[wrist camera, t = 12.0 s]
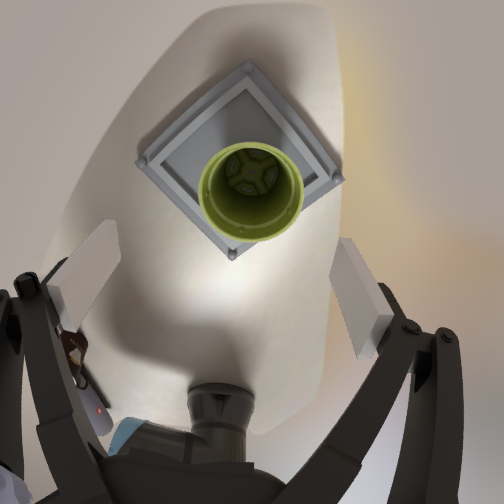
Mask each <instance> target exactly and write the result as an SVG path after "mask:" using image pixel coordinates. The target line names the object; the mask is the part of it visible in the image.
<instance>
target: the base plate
mask: <svg viewBox="0 0 504 504" xmlns="http://www.w3.org/2000/svg"><path fill="white" fill-rule="evenodd" d="M241 142H260V143H265V144H268V145H271V146H273V147H275V148H277V149H279V150H281V151H282V152H284V153H285V154H286V155H287V156H288V157H289V158H290V159H291V160H292V161H293V162H294V163H295V165H296V166H297V168H298V170H299V172H300V174H301V176H302V180H303V184H304V201H303V205H302V209H301V211H302V210H304V209H305V208H307V207H308V206H309V205H311V204H312V203H314V202H315V201H316V200H318V199H319V198H321V197H322V196H323V195H325V194H326V193H328V192H329V191H330V190H332V189H333V188H335V187H336V186H337V185H339V184H341V183H342V182H343V181H344V180H345V178H344V177H343V175H342V174H341V172H340V171H339V169H338V168H337V167H336V165H335V164H334V162H333V161H332V159H331V158H330V157H329V155H328V154H327V152H326V151H325V150H324V148H323V147H322V146H321V144H320V143H319V142H318V140H317V139H316V137H315V136H314V135H313V134H312V132H311V131H310V130H309V128H308V127H307V126H306V124H305V123H304V122H303V121H302V119H301V118H300V117H299V115H298V114H297V113H296V112H295V110H294V109H293V108H292V107H291V106H290V104H289V103H288V102H287V101H286V100H285V98H284V97H283V96H282V95H281V94H280V92H279V91H278V90H277V89H276V88H275V87H274V85H273V84H272V83H271V82H270V81H269V80H268V79H267V77H266V76H265V75H264V74H263V73H262V72H261V71H260V70H259V69H258V67H257V66H256V65H255V64H254V63H253V62H252V61H251V60H250V59H248V60H247V61H246V62H244V63H243V64H242V65H240V66H239V67H238V68H236V69H235V70H234V71H232V72H231V73H230V74H229V75H227V76H226V77H225V78H224V79H222V80H221V81H220V82H219V83H217V84H216V85H215V86H214V87H213V88H211V89H210V90H209V91H208V92H207V93H206V94H204V95H203V96H202V97H201V98H200V99H199V100H197V101H196V102H195V103H194V104H193V105H192V106H191V107H190V108H188V109H187V110H186V111H185V112H184V113H183V114H182V115H181V116H180V117H179V118H178V119H177V120H176V121H175V122H173V123H172V124H171V125H170V126H169V127H168V128H167V129H166V130H165V131H164V132H163V133H162V134H161V135H160V136H159V137H158V138H157V139H156V140H155V141H154V142H153V143H152V144H151V145H150V146H149V147H148V148H147V149H146V151H145V152H144V153H143V154H142V155H141V156H140V157H139V158H138V159H137V160H136V161H135V162H134V163H135V164H136V165H137V167H138V168H140V169H141V170H142V171H143V172H144V173H145V174H146V175H147V176H148V177H149V178H150V179H151V180H152V181H153V182H154V183H155V184H156V186H157V187H158V188H159V189H160V190H161V191H162V192H163V193H164V194H165V195H166V196H167V197H168V198H169V199H170V200H171V201H172V202H173V203H174V204H175V205H176V206H177V207H178V208H179V209H180V210H181V211H182V212H183V213H184V214H185V215H186V216H187V217H188V218H189V219H190V220H191V221H192V222H193V223H194V224H195V225H196V226H197V227H198V228H199V229H200V230H201V231H202V232H203V233H204V234H205V235H206V236H207V237H208V238H209V239H210V240H211V241H212V242H213V243H214V244H215V245H216V246H217V247H218V248H219V249H220V250H221V251H222V252H223V253H224V254H225V255H226V256H227V257H228V259H230V260H231V261H233V260H235V259H236V258H237V257H238V256H240V255H241V254H242V253H244V252H245V251H247V250H248V249H249V248H251V247H252V246H254V245H255V244H256V243H258V242H251V243H250V242H241V241H237V240H233V239H230V238H228V237H226V236H224V235H222V234H221V233H219V232H218V231H217V230H215V229H214V228H213V227H212V226H211V225H210V223H209V222H208V221H207V219H206V218H205V216H204V214H203V212H202V210H201V207H200V204H199V199H198V185H199V180H200V176H201V174H202V171H203V169H204V167H205V166H206V164H207V163H208V161H209V160H210V159H211V158H212V157H213V156H214V155H215V154H216V153H218V152H219V151H221V150H222V149H224V148H226V147H228V146H230V145H233V144H236V143H241ZM252 152H253V153H258V154H261V155H263V152H261V151H256V150H252ZM234 164H235V161H233V162H232V163H231V167H230V171H231V172H232V171H233V167H234ZM250 173H251V174H254V173H255V171H254V170H251V171H250ZM273 178H274V171H272V174H271V177H270V179H269V182H271V181H272V180H273ZM242 189H243V190H244V191H247V192H252V191H253V190H250V189H246V188H244V187H242ZM301 211H300V212H301Z"/></svg>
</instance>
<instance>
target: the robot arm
mask: <svg viewBox="0 0 504 504" xmlns="http://www.w3.org/2000/svg"><path fill="white" fill-rule="evenodd" d="M120 261H121V253H120V246H119V239H118V231H117V223H116V219H105V220H104V221H103V222H102V223H101V224H100V225H99V226H98V227H97V228H96V229H95V230H94V231H93V232H92V233H91V234H90V235H89V236H88V237H87V238H86V239H85V240H84V241H83V242H82V243H81V245H80V246H79V247H78V248H77V249H76V250H75V251H74V252H73V253H72V254H71V256H70V257H66V258H64V259H63V260H61V261H59V262H58V263H57V265H56V266H55V267H54V269H52V270H51V271H50V273H49V274H48V275H47V276H46V277H45V278H44V280H43V281H42V282H41V283H39V280H38V277H37V275H36V273H34V272H25V273H23V274H21V275H19V276H18V277H17V278H16V279H15V280H14V283H13V284H14V287H15V289H16V292H17V295H18V297H13V298H10V296H9V293H8V291H7V290H5V289H1V290H0V504H31V502H32V500H33V497H32V494H31V493H30V491H29V490H28V488H27V485H26V484H25V482H24V458H23V447H22V427H21V395H22V375H23V363H24V354H25V360H26V366H27V371H28V377H29V382H30V386H31V390H32V395H33V399H34V403H35V407H36V411H37V415H38V418H39V425H37V426H36V430H37V435H38V438H39V441H40V444H41V447H42V450H43V453H44V456H45V458H46V461H47V464H48V466H49V469H50V471H51V474H52V476H53V479H54V481H55V483H56V485H57V488H58V490H56V491H54V492H53V493H51V494H50V495H48V496H46V497H45V498H43V499H42V500H40V501H38V502H37V503H35V504H337V503H338V502H339V501H340V499H341V498H342V497H343V495H344V494H345V492H346V491H347V489H348V488H349V487H350V485H351V484H352V482H353V481H354V479H355V478H356V476H357V475H358V473H359V471H360V469H361V467H362V464H361V463H362V460H363V459H364V457H365V455H366V454H367V452H368V450H369V449H370V447H371V445H372V444H373V442H374V440H375V438H376V436H377V435H378V433H379V431H380V429H381V427H382V425H383V424H384V422H385V420H386V418H387V416H388V414H389V412H390V410H391V408H392V406H393V404H394V401H395V400H396V397H397V395H398V393H399V391H400V389H401V387H402V384H403V382H404V380H405V377H406V375H407V373H411V384H410V394H409V402H408V410H407V416H406V423H405V429H404V434H403V440H402V445H401V450H400V455H399V459H398V464H397V468H396V472H395V476H394V480H393V483H392V487H391V491H390V494H389V497H388V501H387V504H459V503H458V496H457V495H458V488H459V481H460V472H461V464H462V450H463V430H464V403H463V402H464V401H463V380H462V367H461V359H460V358H461V357H460V348H459V341H458V337H457V336H456V335H455V333H454V332H453V331H452V330H450V329H448V328H444V327H441V328H438V330H437V331H436V332H435V334H430V333H425V332H422V330H421V327H420V326H419V325H418V324H417V323H416V322H414V321H413V320H410V319H407V318H406V316H405V315H404V313H403V311H402V309H401V308H400V306H399V304H398V302H397V300H396V299H395V297H394V295H393V294H392V292H391V290H390V289H389V288H388V287H387V286H386V285H385V284H384V283H377V282H376V280H375V278H374V276H373V275H372V273H371V271H370V269H369V268H368V266H367V264H366V263H365V261H364V259H363V257H362V256H361V254H360V252H359V251H358V249H357V247H356V246H355V244H354V242H353V241H352V239H350V238H341V237H339V241H338V245H337V249H336V252H335V256H334V260H333V263H332V267H331V271H330V274H329V278H330V281H331V284H332V286H333V289H334V291H335V295H336V297H337V300H338V303H339V306H340V309H341V312H342V314H343V317H344V320H345V323H346V326H347V329H348V332H349V335H350V338H351V341H352V344H353V348H354V350H355V354H356V357H357V359H363V358H372V356H373V355H374V353H375V351H376V350H377V352H378V355H379V357H378V358H377V360H376V362H375V364H374V365H373V367H372V368H371V370H370V372H369V374H368V375H367V377H366V379H365V381H364V382H363V384H362V385H361V387H360V389H359V390H358V392H357V393H356V395H355V396H354V398H353V399H352V401H351V403H350V404H349V406H348V407H347V409H346V410H345V411H344V413H343V414H342V416H341V417H340V419H339V420H338V422H337V423H336V424H335V426H334V427H333V428H332V430H331V431H330V433H329V434H328V435H327V437H326V438H325V439H324V440H323V442H322V443H321V444H320V446H319V447H318V448H317V449H316V451H315V452H314V453H313V455H312V456H311V457H310V458H309V459H308V461H307V462H306V463H305V464H304V465H303V467H302V468H301V469H300V470H299V471H298V472H297V473H296V475H295V476H294V477H293V478H292V479H291V480H290V481H289V482H288V483H287V485H286V484H285V483H283V482H282V481H281V480H280V479H278V478H276V477H275V476H273V475H271V474H269V473H267V472H264V471H261V470H258V469H254V463H253V462H246V430H247V427H248V424H249V421H250V418H251V416H252V414H253V412H254V398H253V396H252V395H251V394H250V393H249V392H247V391H246V390H244V389H242V388H239V387H236V386H232V385H227V384H204V385H200V386H197V387H195V388H193V389H192V390H191V391H190V392H189V394H188V400H187V405H188V409H189V412H190V418H191V423H192V429H191V433H190V432H186V431H181V430H177V429H174V428H170V427H166V426H163V425H159V424H156V423H152V422H149V421H148V420H141V419H137V418H134V417H126V418H125V419H123V420H122V421H121V423H120V424H119V426H118V428H117V430H116V432H115V434H114V436H113V438H112V441H111V444H110V448H109V451H108V454H107V452H106V451H105V450H104V448H103V447H102V445H101V443H100V441H99V439H98V437H97V435H96V433H95V431H94V429H93V427H92V424H91V422H90V420H89V418H88V415H87V413H86V411H85V408H84V406H83V403H82V401H81V398H80V396H79V393H78V390H77V388H76V385H75V382H74V379H73V377H72V374H71V371H70V368H69V365H68V362H67V358H66V355H65V352H64V349H63V345H62V342H61V338H60V334H59V331H58V329H57V325H58V323H59V322H61V325H62V327H63V329H64V330H66V331H70V332H75V333H76V332H77V330H78V328H79V327H80V325H81V323H82V321H83V320H84V318H85V316H86V315H87V313H88V311H89V310H90V308H91V306H92V305H93V303H94V301H95V300H96V298H97V296H98V295H99V293H100V291H101V290H102V288H103V287H104V285H105V284H106V282H107V280H108V279H109V277H110V276H111V274H112V273H113V271H114V270H115V268H116V267H117V265H118V264H119V262H120Z"/></svg>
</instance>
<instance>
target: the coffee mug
mask: <svg viewBox="0 0 504 504" xmlns="http://www.w3.org/2000/svg"><path fill="white" fill-rule="evenodd" d="M60 338H61V342H62V345H63V349H64V352H65V355H66V358H67V362H68V365H69V368H70V371H71V374H72V377H73V379H74V382H75V385H76V386H77V388H79V389H81V390H85V389H86V388H87V387H88V377H87V373H86V370H85V367H84V364H83V360H84V357H85V354H86V351H87V348H88V341H87V340H86V338H85V337H84V336H83V335H82V334H81V333H80V332H78V331H77V332H76V333H75V332H70V331H66V330H63V331H62V333H61V334H60ZM81 366H82V369H83V372H84V374H85V379H86V385H85V386H84V387H80V386H79V384H78V383H77V380H78V376H79V373H80V370H81Z"/></svg>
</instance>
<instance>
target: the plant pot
mask: <svg viewBox="0 0 504 504" xmlns="http://www.w3.org/2000/svg"><path fill="white" fill-rule="evenodd" d="M252 150H256V151H261V152H263V155H261V154H258V153H253V152H252ZM233 161H235V164H234V167H233V171H232V172H231V171H230V167H231V163H232V162H233ZM251 170H254V171H255V173H254V174H251V173H250V171H251ZM272 171H274V178H273V180H272V181H271V182H269V179H270V177H271V174H272ZM242 187H244V188H246V189H250V190H253V191H252V192H247V191H244V190H243V189H242ZM198 199H199V204H200V207H201V210H202V212H203V214H204V216H205V218H206V219H207V221H208V222H209V223H210V225H211V226H212V227H213V228H214V229H215V230H217V231H218V232H219V233H221V234H222V235H224V236H226V237H228V238H230V239H233V240H237V241H241V242H250V243H251V242H261V241H266V240H269V239H272V238H274V237H276V236H278V235H280V234H282V233H283V232H285V231H286V230H287V229H288V228H289V227H290V226H291V225H292V224H293V223H294V222H295V220H296V219H297V217H298V215H299V213H300V211H301V209H302V205H303V201H304V184H303V180H302V176H301V174H300V172H299V170H298V168H297V166H296V165H295V163H294V162H293V161H292V160H291V159H290V158H289V157H288V156H287V155H286V154H285V153H284V152H282V151H281V150H279V149H277V148H275V147H273V146H271V145H268V144H265V143H260V142H241V143H236V144H233V145H230V146H228V147H226V148H224V149H222V150H221V151H219V152H218V153H216V154H215V155H214V156H213V157H212V158H211V159H210V160H209V161H208V163H207V164H206V166H205V167H204V169H203V171H202V174H201V176H200V180H199V185H198Z"/></svg>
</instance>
